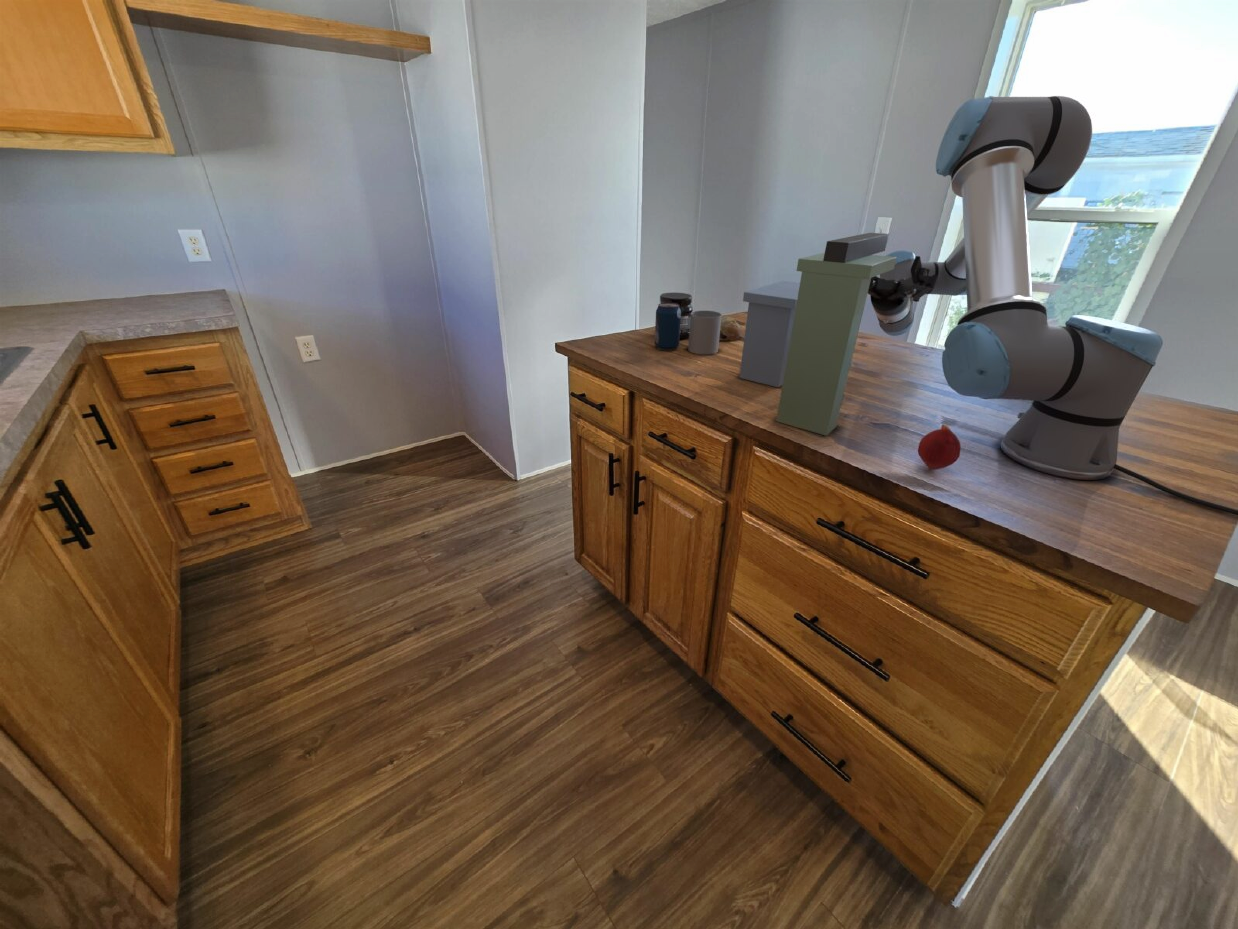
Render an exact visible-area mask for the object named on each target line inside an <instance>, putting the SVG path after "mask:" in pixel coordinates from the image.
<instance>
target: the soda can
mask: <svg viewBox="0 0 1238 929" xmlns="http://www.w3.org/2000/svg"><path fill="white" fill-rule="evenodd" d="M657 305H658V306H657V308H656V310H655V327H654V329H655V330H654V346H655V347H656V349H657V350H659V351H665V352H667V351H668V352H669V351H671V352H672V351H675V350H677V348H678V347H679V345H680V339H679V338H680V322H681V310H680V307H679V304H677V303H660V302H659V303H658V304H657Z"/></svg>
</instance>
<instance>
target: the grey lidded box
mask: <svg viewBox="0 0 1238 929" xmlns="http://www.w3.org/2000/svg"><path fill="white" fill-rule="evenodd" d="M799 286H800V282H796V281H788V280H781V281H777V282H774V283H771V284H767V285H763V286H759V287H757V288H754V289H750V290H747V291H744V292H743V298H742V302H746V303H748V306H747V313H746V314H747V315H746V323H745V330H744V337H743V345H742V346H743V347H742V353H741V360H740V362H741V363H740V370H739V376H738V378H739V379H743V380H747V381H750V382H754V383H757V384H758V383H759V384H762V385H766V386H770V387H775V388H779V387H782V385H783V379H784V373H785V367H786V362H787V356H788V350H789V344H790V338H791V333H792V327H793V321H794V315H795V309H796V304H797V298H798V292H799Z"/></svg>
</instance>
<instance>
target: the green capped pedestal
mask: <svg viewBox="0 0 1238 929" xmlns="http://www.w3.org/2000/svg"><path fill="white" fill-rule="evenodd" d="M824 254H825V252H821V253H817V254H812V255H809V256H804V257H800V258H798V259H797V266H796V272H801V276H800V281H799V283H800V286H799V292H798V298H797V304H796V309H795V315H794V321H793V327H792V333H791V338H790V344H789V350H788V356H787V362H786V367H785V373H784V379H783V385H781V392H780V396H779V402H778V403H779V404H778V409H777V415H776V420H775V421H776V422H777V423H780V424H784V425H788V426H791V427H795V428H798V429H801V430H805V431H807V432H812V433H816V434H818V435H823V436H825V437H826V436H828V435H829V434H830V433H831V432H832V431H833V430H835V429H836V428H837V423H838V420H839V415H840V412H841V407H842V403H843V398H844V394H845V390H846V387H847V381H848V378H849V373H850V369H851V365H852V361H853V357H854V353H855V348H856V343H857V340H858V335H859V331H860V327H861V324H862V323H861V322H862V318H863V316H864V315H863V314H864V309H865V306H866V302H867V297H868V295H869V294H868V289H869V285H870V281H871V278H872V277H875V276H877V277H878V276H880V274H882V273H885V272H887V271H890V270H893V269H894V266H895V263H896V259H897V257H890V256H886V255H877V254H873V255H869V256H866V257H863V258H859V259H856V260H852V261H849V262H846V263H840V262H830V261H823V259H824Z"/></svg>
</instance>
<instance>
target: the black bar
mask: <svg viewBox="0 0 1238 929" xmlns="http://www.w3.org/2000/svg"><path fill="white" fill-rule="evenodd" d="M889 235H890V234H889V233H882V232H881V233H880V232H867V233H861V234H857V235H851V236H846V237H841V238H836V239H831V240H827V241H826V245H825V249H824V253H825V254H824V259H823V261H830V262H840V263H846V262H849V261H852V260H856V259H859V258H863V257H866V256H869V255H877V254H879V253H883V252H885V251H886V248H887V243H888V240H889Z"/></svg>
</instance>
